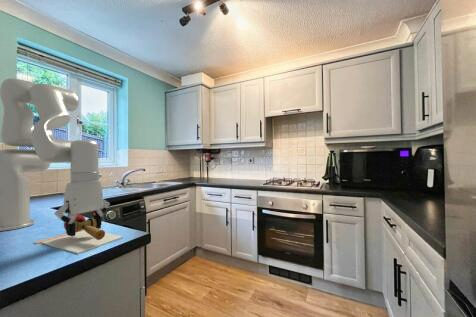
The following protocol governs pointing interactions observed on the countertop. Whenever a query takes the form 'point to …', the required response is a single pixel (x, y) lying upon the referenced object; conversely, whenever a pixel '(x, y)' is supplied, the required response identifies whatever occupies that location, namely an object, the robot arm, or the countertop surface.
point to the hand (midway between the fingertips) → (84, 231)
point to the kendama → (87, 226)
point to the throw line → (50, 238)
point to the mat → (80, 242)
